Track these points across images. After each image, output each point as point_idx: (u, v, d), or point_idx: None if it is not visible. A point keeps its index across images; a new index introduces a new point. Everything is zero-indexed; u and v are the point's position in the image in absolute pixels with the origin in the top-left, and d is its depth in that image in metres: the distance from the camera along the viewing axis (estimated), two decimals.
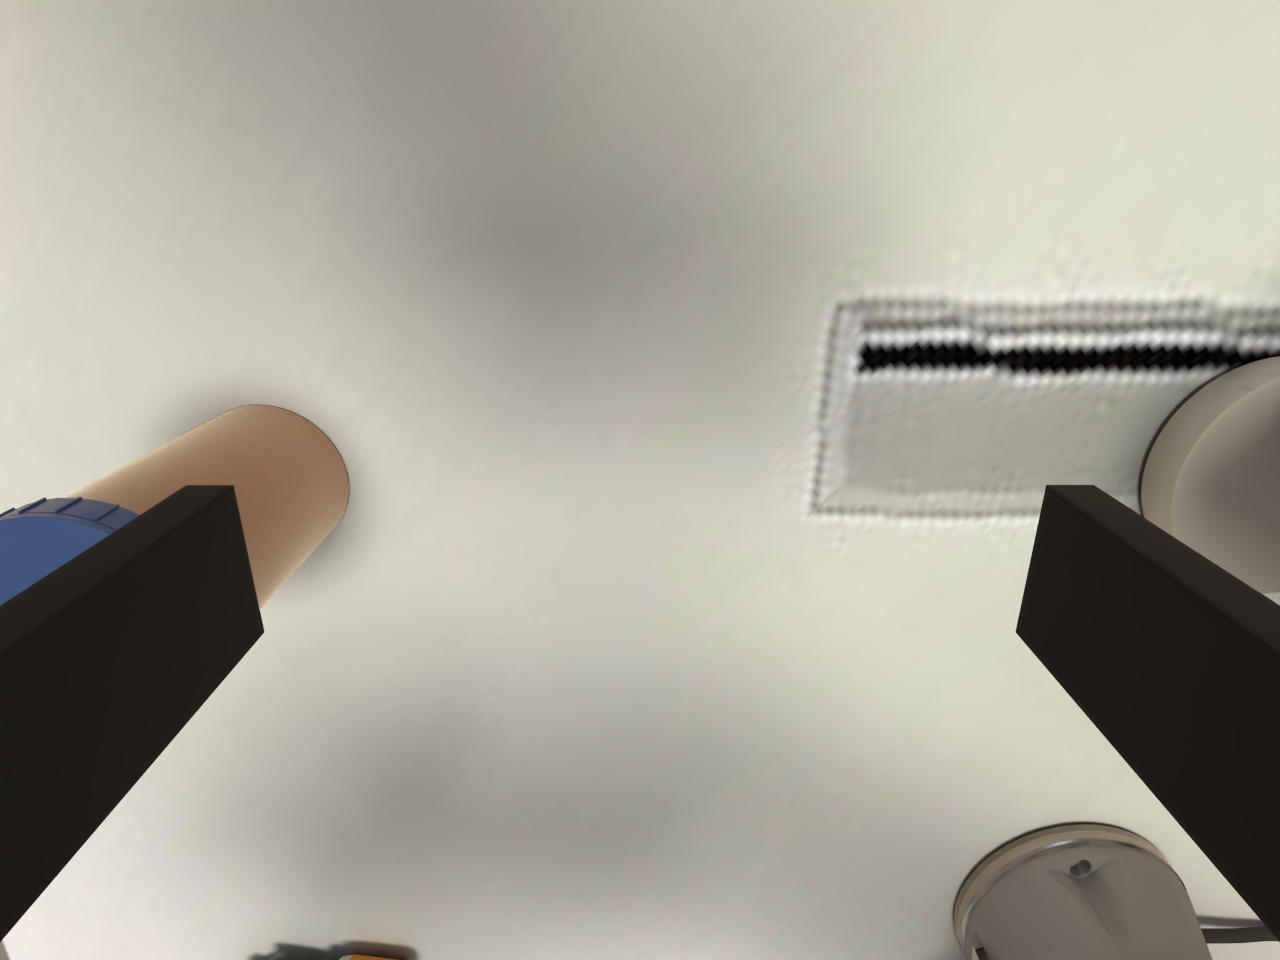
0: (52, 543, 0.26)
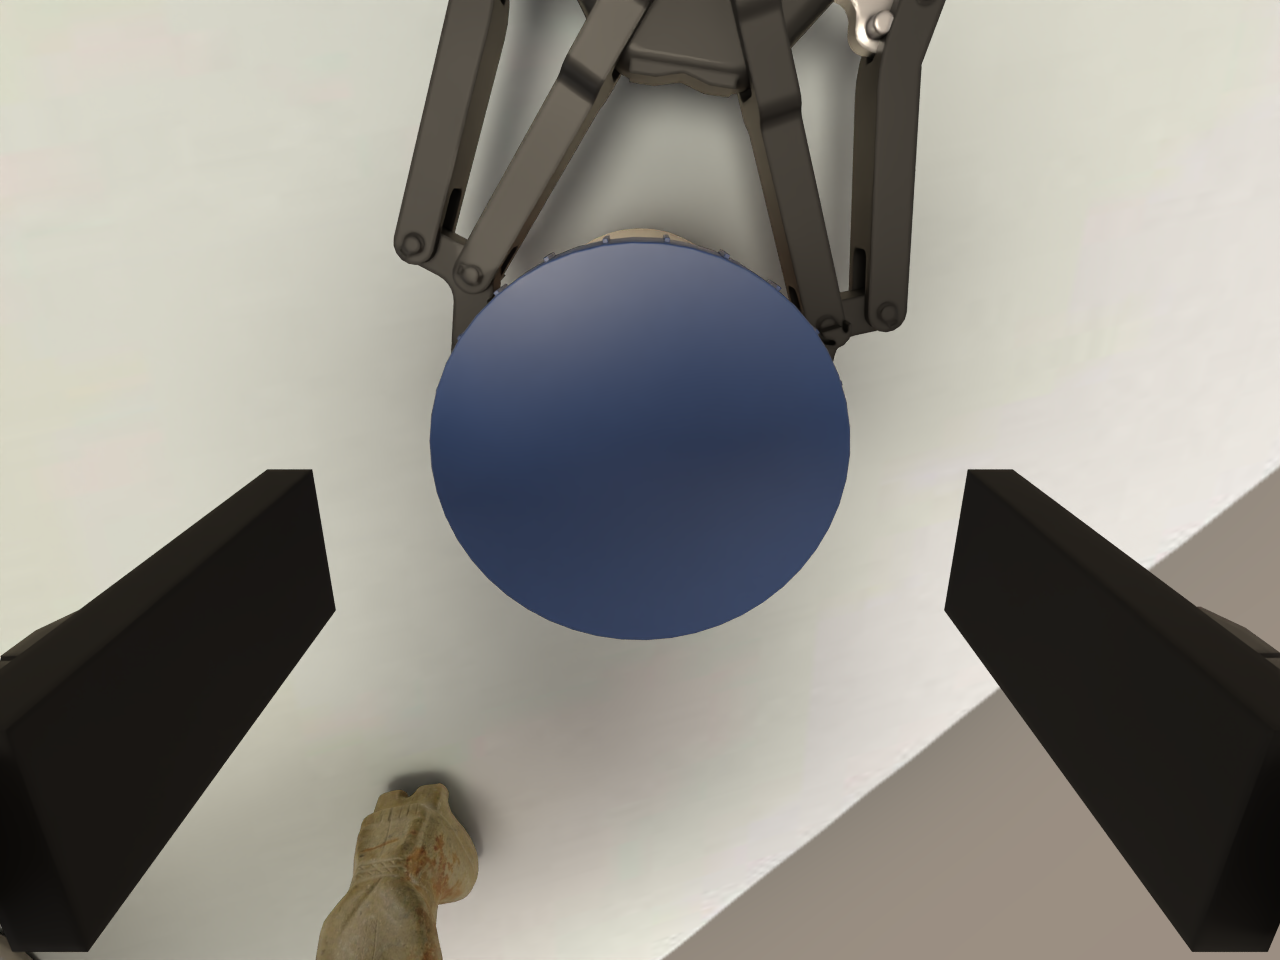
0: (526, 563, 0.18)
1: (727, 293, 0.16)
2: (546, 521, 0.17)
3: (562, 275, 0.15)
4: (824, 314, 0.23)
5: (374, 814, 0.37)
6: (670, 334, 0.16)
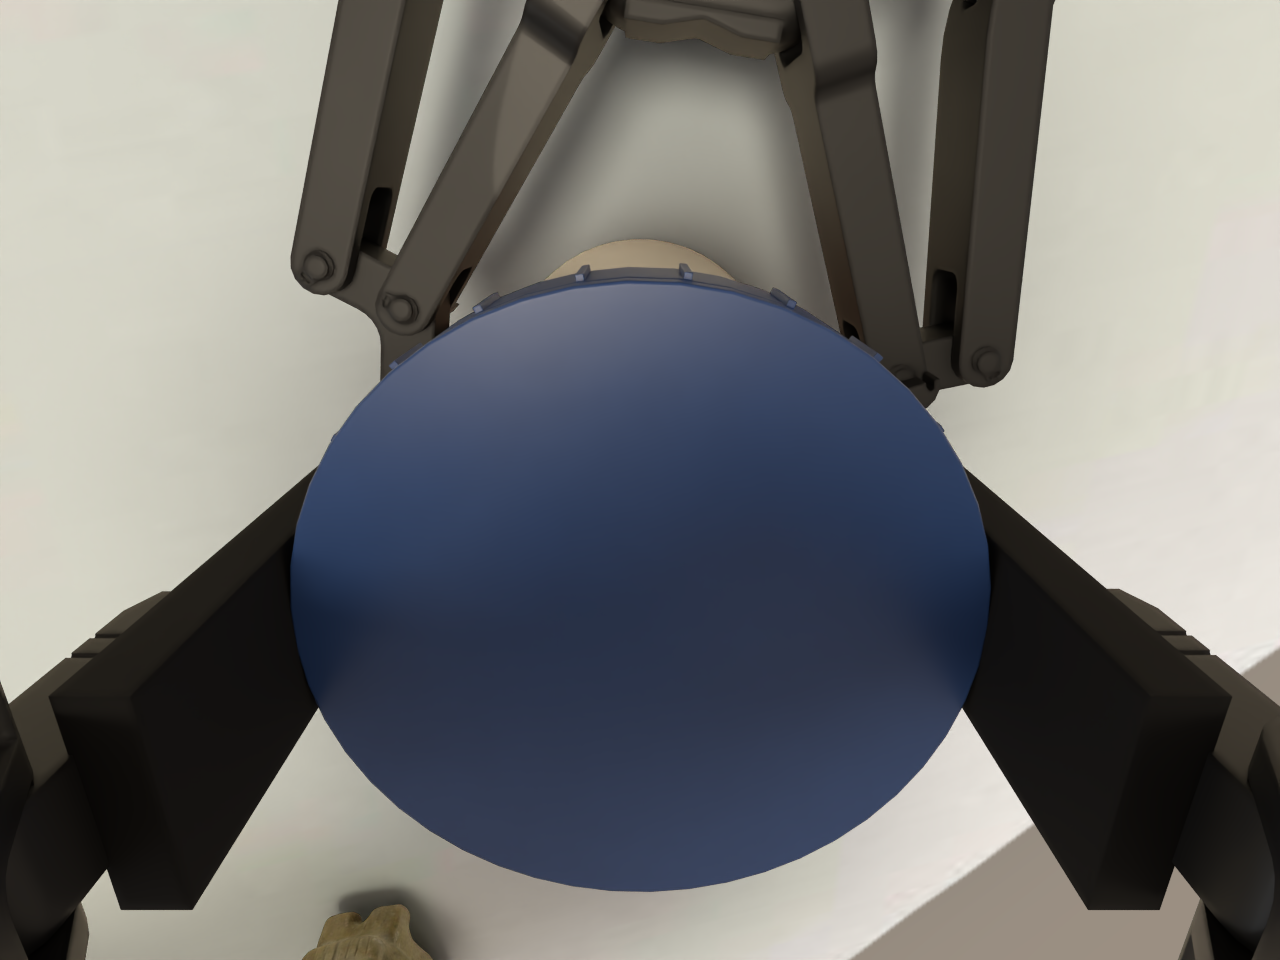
0: (457, 787, 0.11)
1: (794, 369, 0.09)
2: (487, 726, 0.11)
3: (503, 339, 0.09)
4: (898, 363, 0.17)
5: (316, 952, 0.30)
6: (692, 438, 0.09)
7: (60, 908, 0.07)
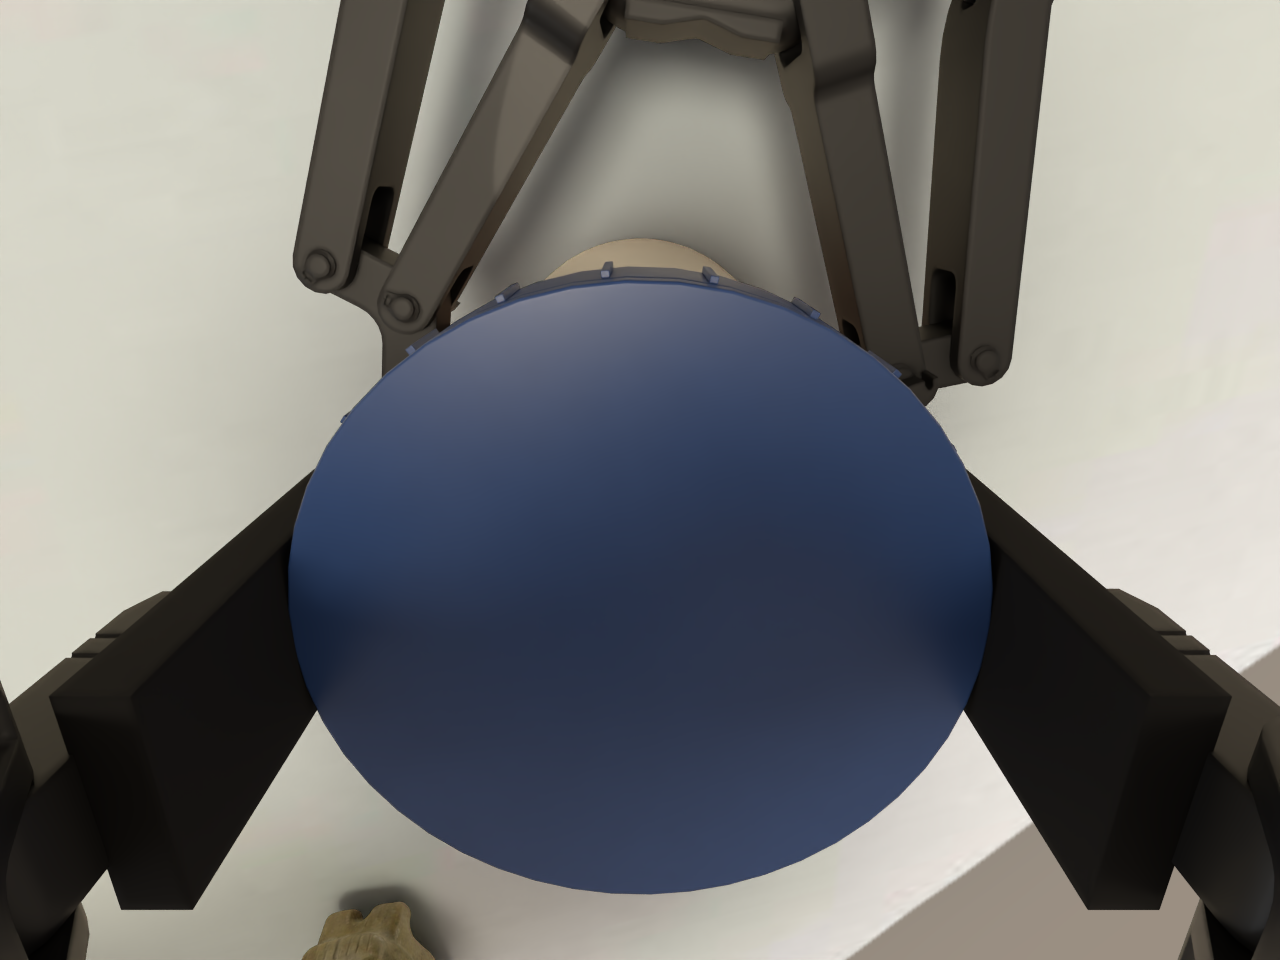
0: (814, 796, 0.11)
1: (347, 517, 0.10)
2: (741, 766, 0.11)
3: (356, 735, 0.11)
4: (897, 362, 0.17)
5: (317, 949, 0.31)
6: (425, 597, 0.10)
7: (60, 908, 0.07)
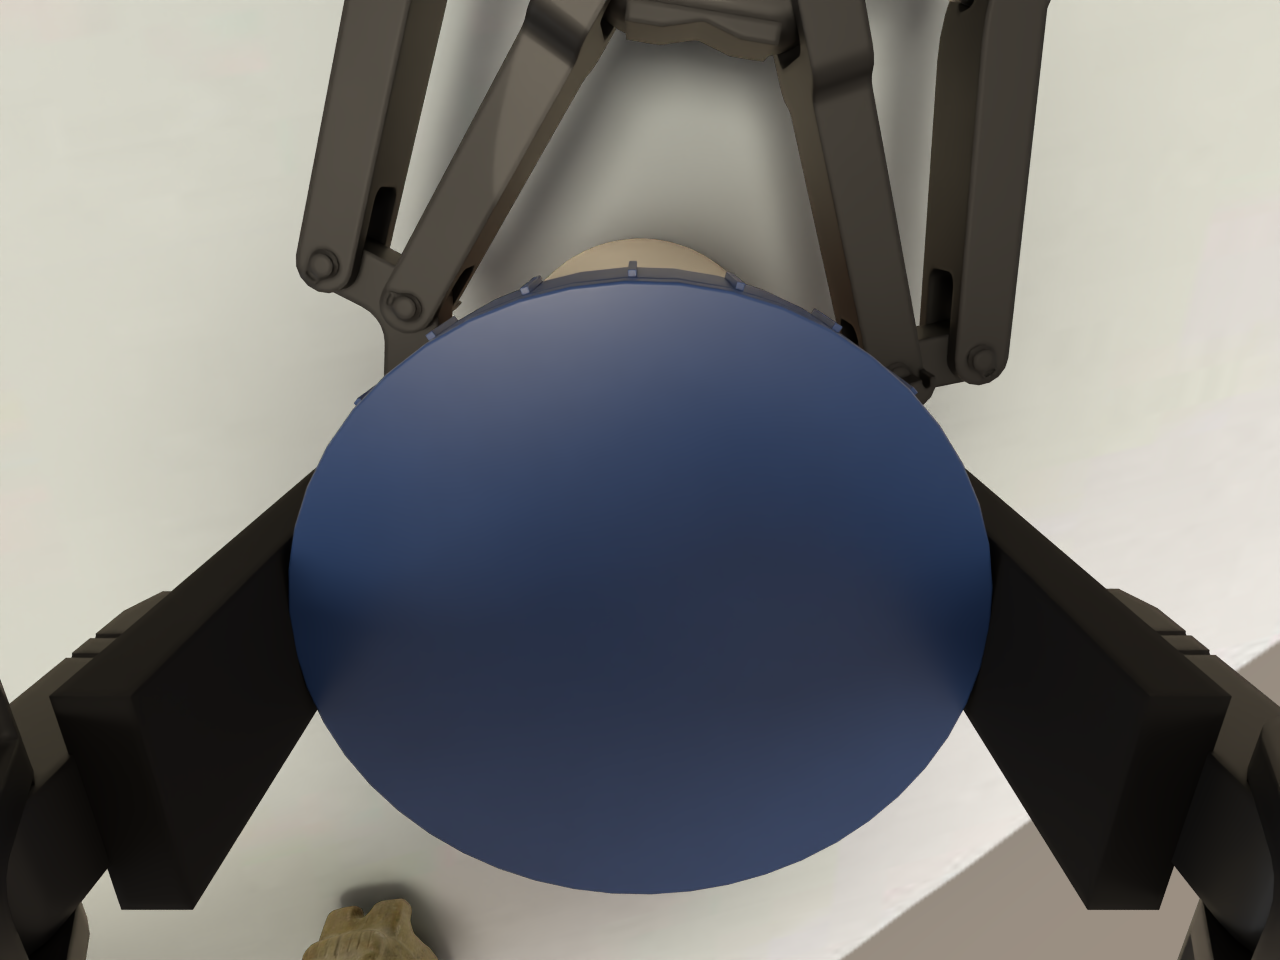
0: (859, 458, 0.09)
1: (521, 847, 0.12)
2: (808, 539, 0.10)
3: (744, 864, 0.12)
4: (895, 361, 0.17)
5: (318, 945, 0.31)
6: (597, 802, 0.11)
7: (60, 908, 0.07)
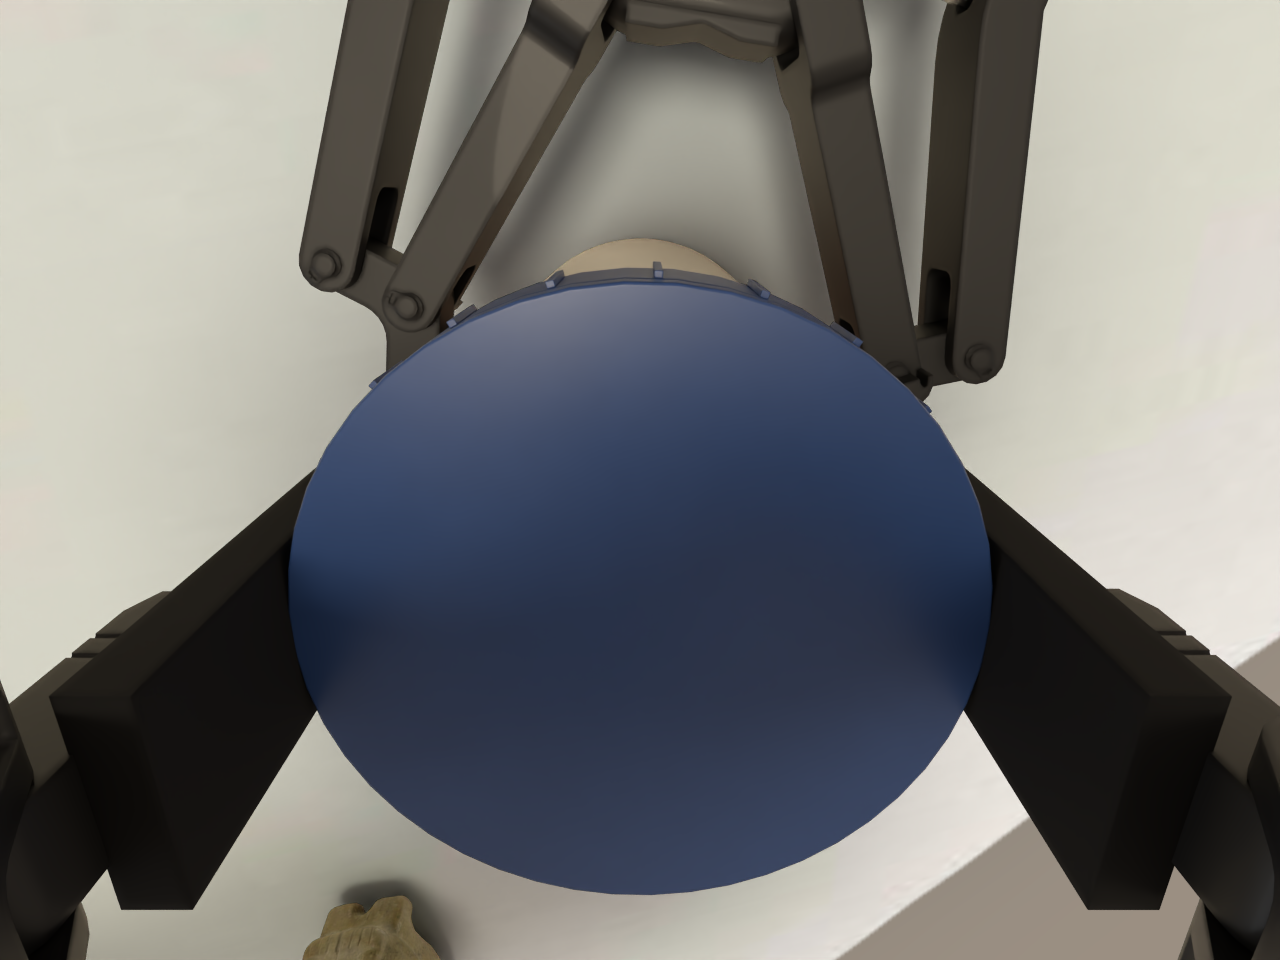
0: (427, 452, 0.09)
1: (898, 747, 0.11)
2: (520, 491, 0.09)
3: (957, 531, 0.10)
4: (893, 360, 0.17)
5: (319, 941, 0.31)
6: (845, 678, 0.10)
7: (60, 906, 0.07)
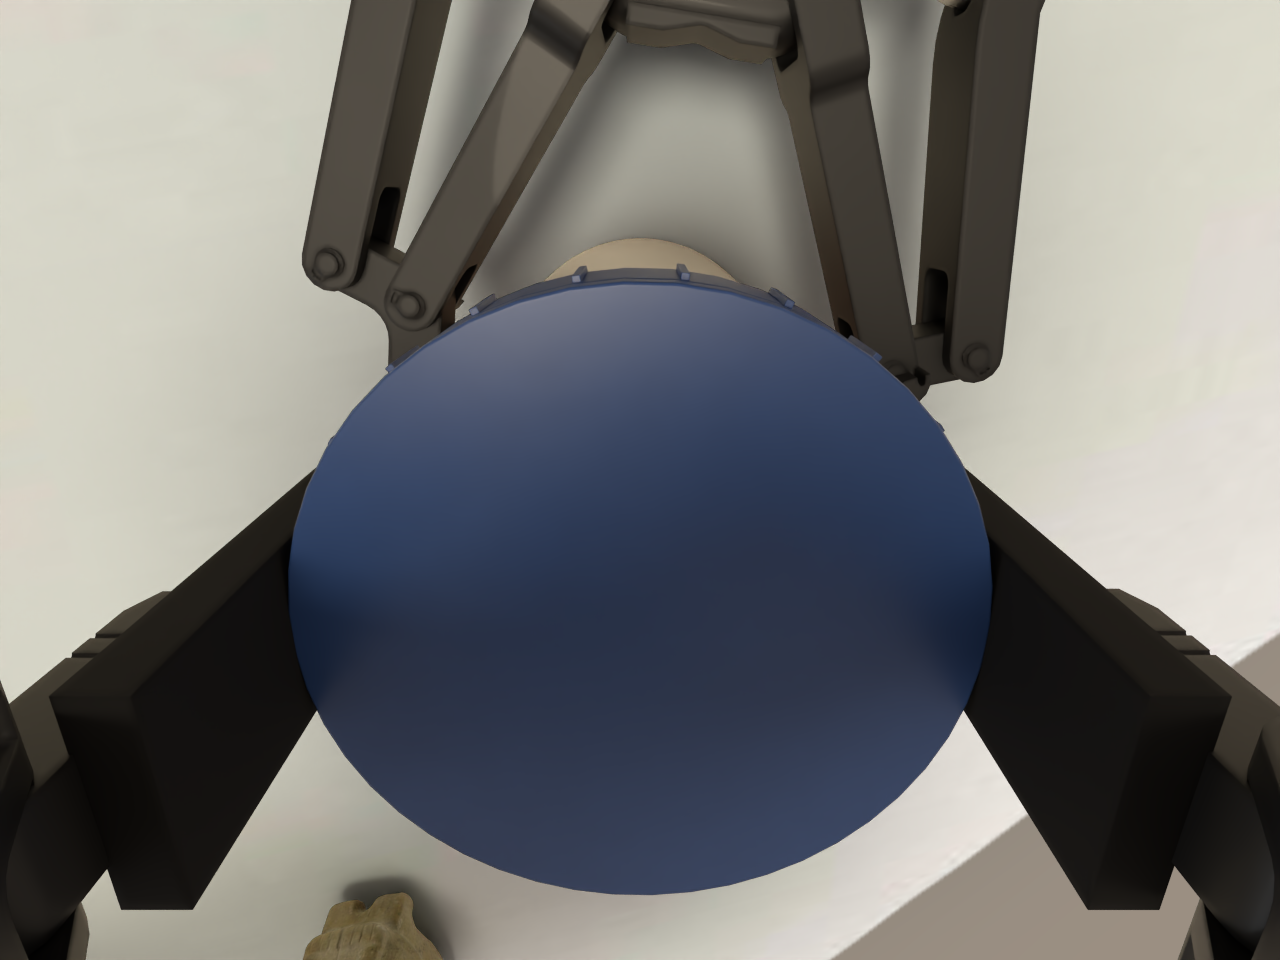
0: (457, 791, 0.11)
1: (791, 370, 0.09)
2: (487, 729, 0.11)
3: (499, 341, 0.09)
4: (890, 359, 0.17)
5: (321, 938, 0.31)
6: (691, 439, 0.09)
7: (59, 908, 0.07)
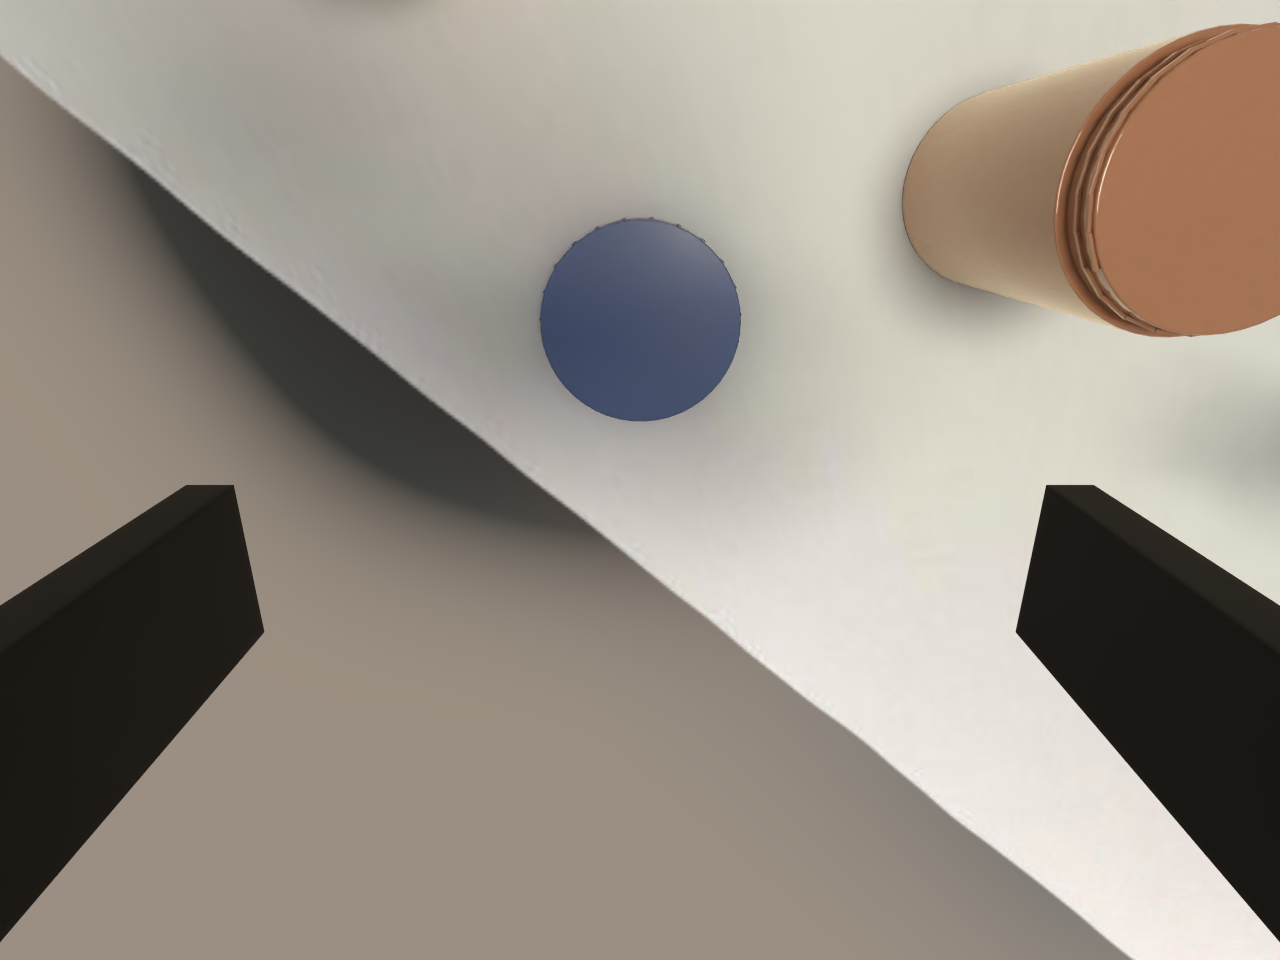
0: (585, 379, 0.36)
1: (680, 243, 0.34)
2: (595, 357, 0.36)
3: (604, 235, 0.34)
4: None
5: None
6: (654, 262, 0.34)
7: None
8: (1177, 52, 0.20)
